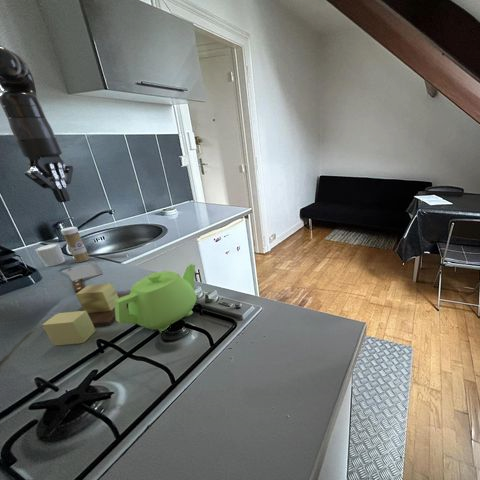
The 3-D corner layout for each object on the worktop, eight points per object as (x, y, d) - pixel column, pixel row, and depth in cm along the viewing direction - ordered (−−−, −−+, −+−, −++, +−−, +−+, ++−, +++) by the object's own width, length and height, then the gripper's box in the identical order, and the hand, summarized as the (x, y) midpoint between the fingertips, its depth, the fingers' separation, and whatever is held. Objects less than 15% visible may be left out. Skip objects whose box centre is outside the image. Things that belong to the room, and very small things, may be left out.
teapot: (187, 290, 77) (176, 252, 73) (218, 302, 71) (208, 261, 66) (112, 334, 61) (91, 288, 57) (143, 353, 55) (123, 304, 50)
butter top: (57, 313, 60) (68, 333, 63) (41, 324, 57) (53, 346, 59) (86, 310, 61) (96, 330, 63) (72, 322, 57) (83, 343, 59)
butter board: (63, 330, 64) (50, 305, 61) (100, 298, 76) (91, 277, 73) (110, 325, 65) (98, 301, 62) (139, 295, 77) (131, 274, 74)
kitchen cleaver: (107, 281, 84) (65, 294, 77) (108, 284, 84) (67, 297, 78) (95, 261, 100) (60, 270, 93) (96, 263, 100) (61, 272, 94)
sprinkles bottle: (83, 262, 100) (68, 230, 95) (72, 263, 101) (56, 230, 95) (93, 257, 104) (79, 225, 99) (82, 257, 105) (68, 226, 100)
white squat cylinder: (57, 259, 105) (49, 243, 102) (71, 259, 104) (64, 243, 101) (38, 267, 99) (29, 250, 96) (53, 267, 98) (44, 250, 95)
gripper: (43, 137, 74) (69, 197, 81) (-7, 138, 62) (29, 208, 69) (70, 136, 75) (94, 195, 81) (26, 136, 63) (58, 206, 69)
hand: (64, 201), depth 75 cm, fingers closed
